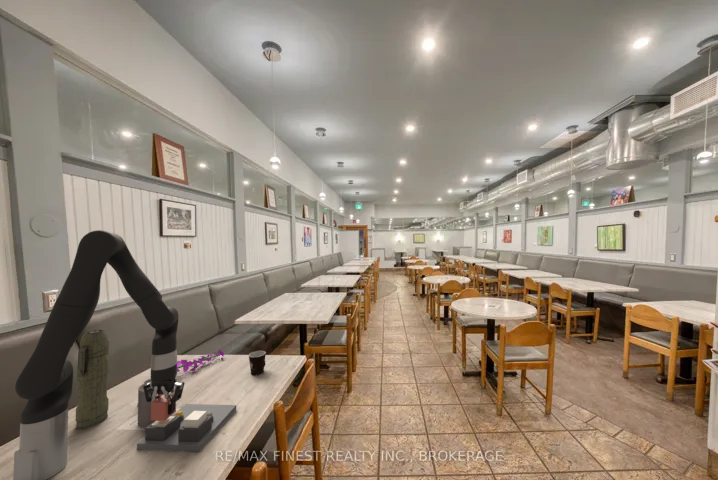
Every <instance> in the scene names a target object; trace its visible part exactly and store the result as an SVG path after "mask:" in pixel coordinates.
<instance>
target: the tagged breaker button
mask: <svg viewBox="0 0 718 480" xmlns="http://www.w3.org/2000/svg"><path fill="white" fill-rule="evenodd" d="M174 419H175V416H170V417H169V418H167V419H166V420H165V421H156V422H154V423H153V424H152V425H151V427H165V426H167V425H168V424H169V423H170V422H171V421H173V420H174Z"/></svg>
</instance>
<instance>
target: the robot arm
mask: <svg viewBox="0 0 718 480" xmlns="http://www.w3.org/2000/svg"><path fill="white" fill-rule="evenodd" d="M107 264H108V265H109V266H111V268H112V269H113V270H114V272H116V275H117V276H118V277H119V279H120V282H121V284H122V286H123V287H124V289H125V291H126V293H127V294H128V295H129V297H130V298H131V299H132V300H133V301H134V303H135V304H136V306H138V307H139V308H140V310H141V313H142V315H143V316H144V318H145V320H146V322H147V323H148V324H149V326H150V327H152V328H153V329H154V330H155V332H154V337H153V339H152V343H151V357H150V358H151V359H150V379H151V382H149V383H147V384H146V385H144V386H143V388H144V393H145V397H146V401H147V402H153V401H155V400H156V399H157V398H159V397H161V394H162V395H164V397H165V399H167V401H168V415H170V414H172V413H173V412H174V411H175V402H176V403H177V402H178V401H179V400H180V399H181V398H182V395H183V391H184V387H185V382H178V380H177V379H176V377H177V374H178V372H177V361H178V351H177V350H178V349H177V344H178V343H177V332H178V326H179V312H178V310H177V309H176V308H175V307H173V306H167V305H166V303H165V302H164V301H163V296H162V294H161V292H160V291H159V289H158V288H157V287H156V286H155V284H154V283H153V282H152V281H151V280H150V279H149V277H148V276H147V275H146V274H145V273H144V272H143V269H141V267H140V266H139V265H138V263H137V261H136V260H135V259H134V257H133V255H132V254H131V251H130V250H129V248H128V245H127V244H126V242H125V240H124V238H123V237H122V236H121V235H119V234H118V233H115V232H111V231H107V230H100V229H97V230H92V231H90V232H88V233H86V234H85V235H84V236H83V237H82V238H80V241H79V243H78V246H77V250H76V252H75V258H74V260H73V263H72V266H71V269H70V272H69V273H68V275H67V277H66V279H65V281H64V284H63V286H62V287H61V290H60V292H59V294H58V296H57V297H56V300H55V302H54V304H53V306H52V309H51V311H50V313H49V316H48V319H47V321H46V322H45V325H44V328H43V330H42V332H41V335H40V337H39V340H38V343H37V344H36V347H35V349H34V351H33V352H32V354H31V356H30V358H29V359H28V360H27V363H26V365H24V367H23V369H22V370H21V372H20V374H19V376H18V377H17V378H16V379H17V380H16V382H15V393H16V394H17V396H18V397H20V399H24V400H27V402H26V404H25V406H24V408H23V409H22V411H21V413H20V417H19V418H20V420H19V422H20V423H19V424H20V425H19V446H18V447H19V449H17V450H16V451H14V453H13V454H14V455H13V477H12V478H13V479H12V480H48V479H50V478H52V477H54V476H55V475H57V474H58V473H60V472H61V471H62V470H63V469H64V468H65V467H66V466H67V464H68V432H69V431H68V429H69V427H68V426H69V405H70V404H69V402H70V400H71V397H72V393H73V383H74V366H73V363H72V361H70V359H68V355H69V353H70V351H71V349H72V347H73V345H74V344H75V343H76V341H77V340H78V338H79V337H80V336H81V335H82V333H83V332H84V331H85V329H86V328H87V326H88V325H89V323H90V321H91V319H92V318H93V315H94V313H95V310H96V308H97V306H98V303H99V301H100V296H101V279H102V275H103V273H104V270H105V268H106V266H107ZM168 393H169V394H168ZM150 394H151V397H150ZM171 397H172V399H171ZM172 415H173V414H172Z"/></svg>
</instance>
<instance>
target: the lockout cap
mask: <svg viewBox="0 0 718 480" xmlns="http://www.w3.org/2000/svg"><path fill="white" fill-rule="evenodd" d="M171 399H172V397H171ZM176 412H177V401H176V402H175V411H174V412H173V413H172V414H170V415H168V401H167V399H165V397H164V395H162V396H161V397H159V398H157V399H156V400H155V401H153V402H151V421H165V420H166V419H167V418H169V417H170V416H171V415H173V414H174V413H176Z"/></svg>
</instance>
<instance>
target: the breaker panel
mask: <svg viewBox="0 0 718 480" xmlns="http://www.w3.org/2000/svg"><path fill="white" fill-rule="evenodd" d="M193 411H207V420H206V421H205V422H204V423H203V424H202V425H201V426H200V427H199V428H184V419H185V418H186V417H188V416H189V415H190V414H191V413H192V412H193ZM236 411H237V404H205V403H204V404H203V403H202V404H199V403H195V404H194V403H186V404H184V405H182V407H181V408H179V409H178V410H176V412H175V413H174V414H172V415H171V416H175V419H174V420H173V421H171V422H170V423H169V424H168V425H167V426H165V427H151V425H152V424H153V423H154V422H156V421H154V422H153V423H151V424H150V425H149V426H148V427H144V428H145V431H144V432H145V433H144V435H145V436H144V437H143V438H142V439H140V441H139V440H138V442H137V443H136V450H139V451H159V450H164V451H163V452H165V451H166V452H167V451H168V452H192V453H200V451H202V449H204V448H205V446H206V445H207V444H208V443H209V441H211V440H212V438H213V437H214V436H215V435H216V434H217V432H219V430H220V429H221V428H222V427H223V426H224V425H225V423H227V421H228V420H229V419H230V418H231V416H233V415H234V414H235V412H236Z"/></svg>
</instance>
